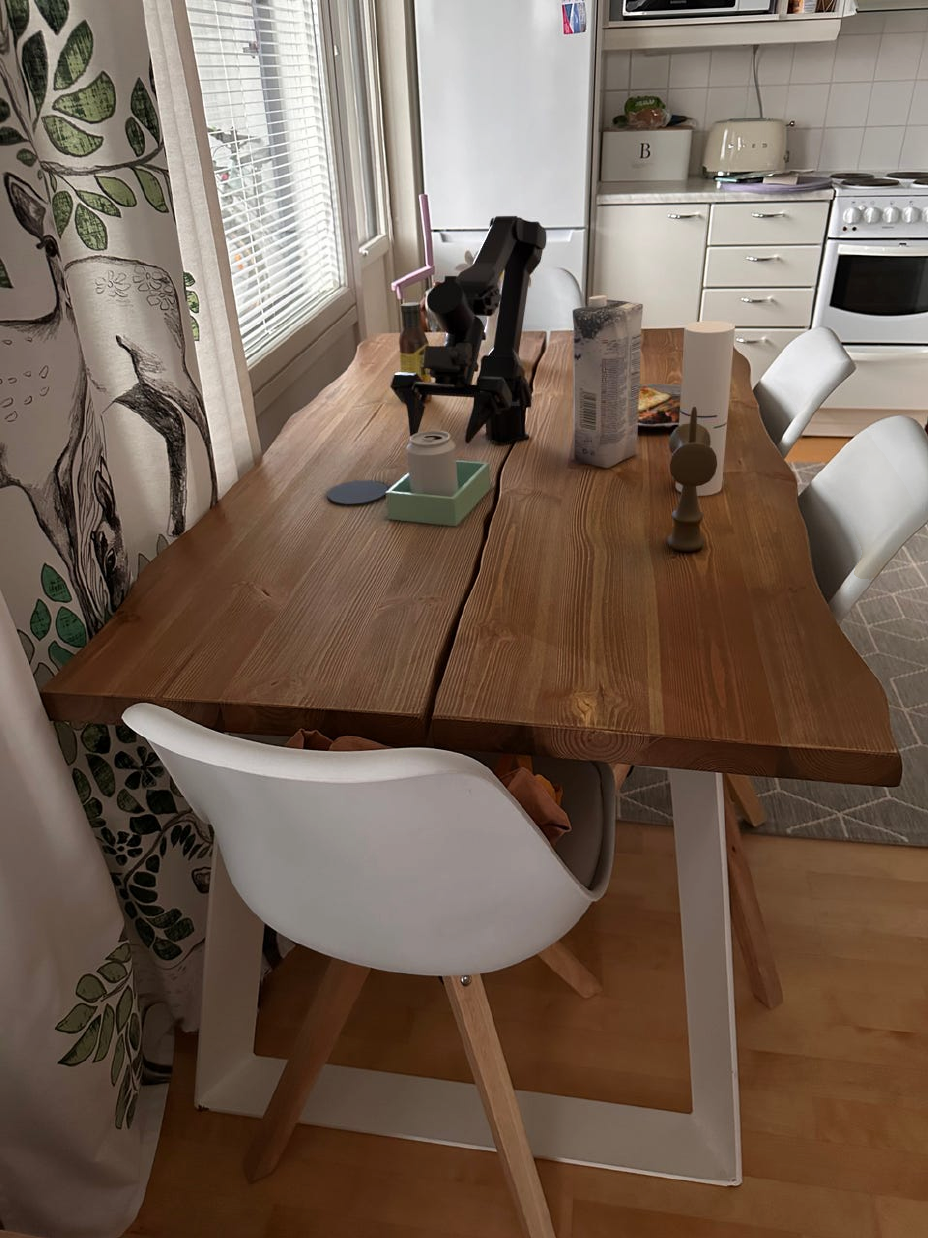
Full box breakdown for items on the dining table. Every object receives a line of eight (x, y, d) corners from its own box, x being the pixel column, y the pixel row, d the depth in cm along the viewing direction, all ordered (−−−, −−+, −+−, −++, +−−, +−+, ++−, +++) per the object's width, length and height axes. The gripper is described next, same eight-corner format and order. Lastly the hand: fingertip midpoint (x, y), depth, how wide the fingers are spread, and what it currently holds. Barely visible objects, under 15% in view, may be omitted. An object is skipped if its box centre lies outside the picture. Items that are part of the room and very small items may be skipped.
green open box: (427, 482, 156) (425, 457, 154) (490, 488, 152) (489, 462, 150) (388, 519, 144) (385, 492, 142) (456, 526, 140) (454, 498, 138)
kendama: (664, 561, 126) (672, 418, 116) (662, 531, 134) (669, 395, 124) (710, 562, 125) (721, 417, 115) (705, 532, 133) (715, 394, 123)
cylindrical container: (670, 480, 150) (678, 323, 138) (713, 476, 151) (725, 319, 138) (682, 497, 144) (692, 334, 132) (727, 493, 145) (742, 330, 132)
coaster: (377, 478, 159) (376, 476, 159) (395, 497, 151) (395, 495, 151) (320, 489, 156) (320, 487, 156) (336, 510, 148) (336, 508, 148)
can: (467, 502, 148) (462, 429, 142) (446, 521, 142) (441, 446, 136) (425, 497, 151) (419, 425, 145) (403, 515, 145) (396, 441, 139)
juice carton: (643, 454, 162) (650, 293, 148) (608, 472, 155) (611, 306, 142) (601, 444, 167) (604, 288, 154) (566, 461, 161) (565, 300, 147)
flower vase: (537, 365, 216) (535, 251, 203) (458, 368, 217) (452, 255, 205) (537, 351, 227) (535, 242, 215) (462, 354, 229) (456, 246, 216)
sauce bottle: (429, 404, 194) (421, 307, 184) (400, 404, 195) (391, 307, 186) (436, 395, 200) (428, 300, 190) (408, 395, 201) (399, 300, 191)
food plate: (659, 444, 165) (660, 425, 164) (564, 418, 181) (564, 401, 179) (741, 410, 179) (743, 392, 177) (646, 389, 195) (647, 372, 193)
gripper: (389, 320, 143) (364, 411, 140) (503, 323, 137) (480, 419, 133) (414, 358, 153) (392, 444, 150) (521, 362, 147) (501, 453, 143)
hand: (439, 439), depth 144 cm, fingers open, 9 cm apart
